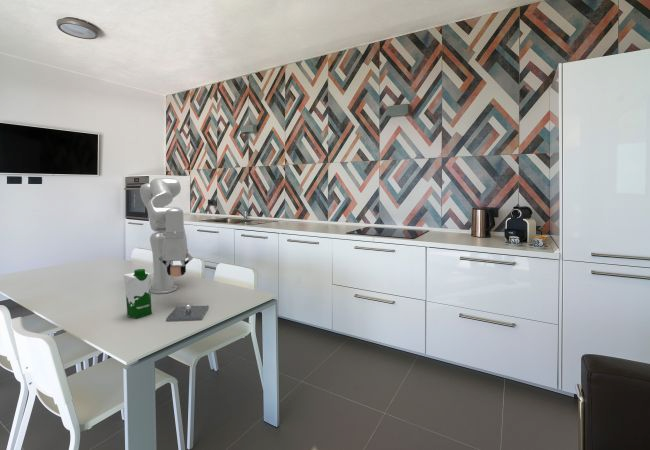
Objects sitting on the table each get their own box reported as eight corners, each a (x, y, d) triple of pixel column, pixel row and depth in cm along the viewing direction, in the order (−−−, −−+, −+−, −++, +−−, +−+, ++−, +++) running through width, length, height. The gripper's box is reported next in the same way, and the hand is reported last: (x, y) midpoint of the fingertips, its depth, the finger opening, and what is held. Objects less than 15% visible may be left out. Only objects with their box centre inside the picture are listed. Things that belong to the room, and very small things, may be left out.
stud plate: (166, 321, 138) (165, 311, 137) (176, 309, 152) (176, 300, 151) (201, 320, 139) (201, 310, 139) (208, 308, 153) (208, 299, 153)
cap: (168, 277, 152) (168, 267, 151) (172, 273, 157) (172, 265, 157) (180, 276, 153) (180, 267, 152) (184, 273, 158) (183, 264, 157)
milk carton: (134, 320, 139) (131, 273, 136) (123, 315, 144) (121, 269, 142) (154, 313, 146) (152, 268, 144) (144, 309, 151) (142, 265, 149)
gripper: (152, 236, 148) (154, 276, 150) (192, 236, 150) (193, 276, 152) (158, 234, 155) (160, 272, 157) (196, 234, 157) (197, 271, 160)
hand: (176, 273), depth 155 cm, fingers closed on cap, 5 cm apart
